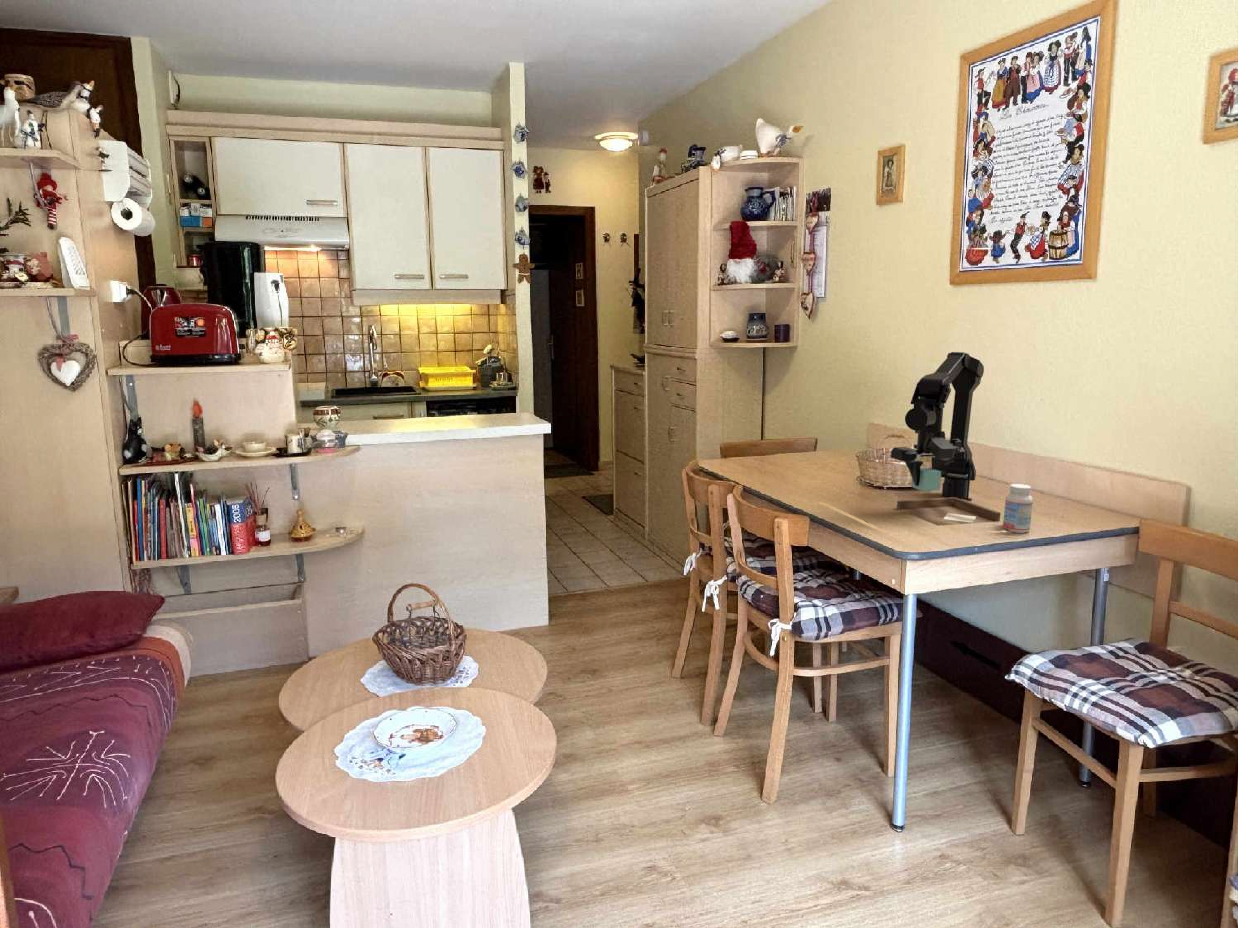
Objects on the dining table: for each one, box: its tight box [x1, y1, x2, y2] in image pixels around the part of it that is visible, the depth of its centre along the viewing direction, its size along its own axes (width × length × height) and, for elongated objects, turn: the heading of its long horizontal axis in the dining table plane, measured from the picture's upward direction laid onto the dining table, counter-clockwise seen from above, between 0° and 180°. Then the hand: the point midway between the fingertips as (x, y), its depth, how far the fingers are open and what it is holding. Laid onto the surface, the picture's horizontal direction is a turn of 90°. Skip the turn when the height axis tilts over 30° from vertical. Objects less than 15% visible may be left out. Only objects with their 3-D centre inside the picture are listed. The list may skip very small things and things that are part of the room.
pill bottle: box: [1002, 483, 1034, 534], centre depth 203 cm, size 6×6×11 cm
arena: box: [896, 497, 1001, 526], centre depth 216 cm, size 18×18×3 cm
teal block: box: [911, 467, 942, 492], centre depth 217 cm, size 5×5×5 cm
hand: (925, 485), depth 218 cm, fingers closed on teal block, 5 cm apart
